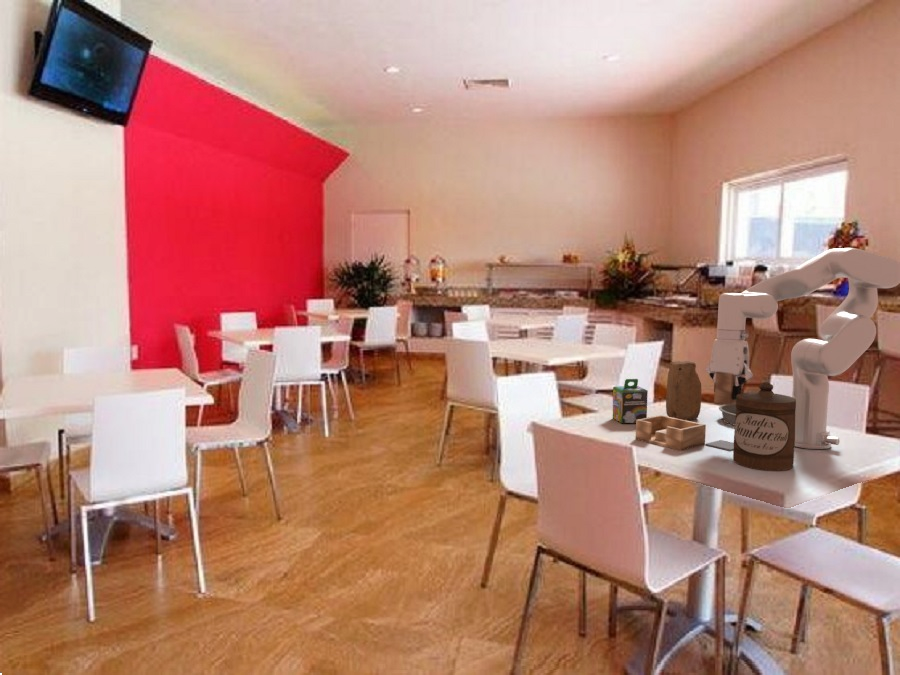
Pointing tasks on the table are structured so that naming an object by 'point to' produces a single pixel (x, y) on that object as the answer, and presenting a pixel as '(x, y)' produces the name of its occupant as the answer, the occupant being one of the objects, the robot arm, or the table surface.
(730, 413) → the cake pan
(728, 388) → the walnut block
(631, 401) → the chalk box
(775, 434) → the wooden container
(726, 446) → the grey pad
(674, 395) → the brown tall rounded lump
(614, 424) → the table surface
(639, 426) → the oak crate
